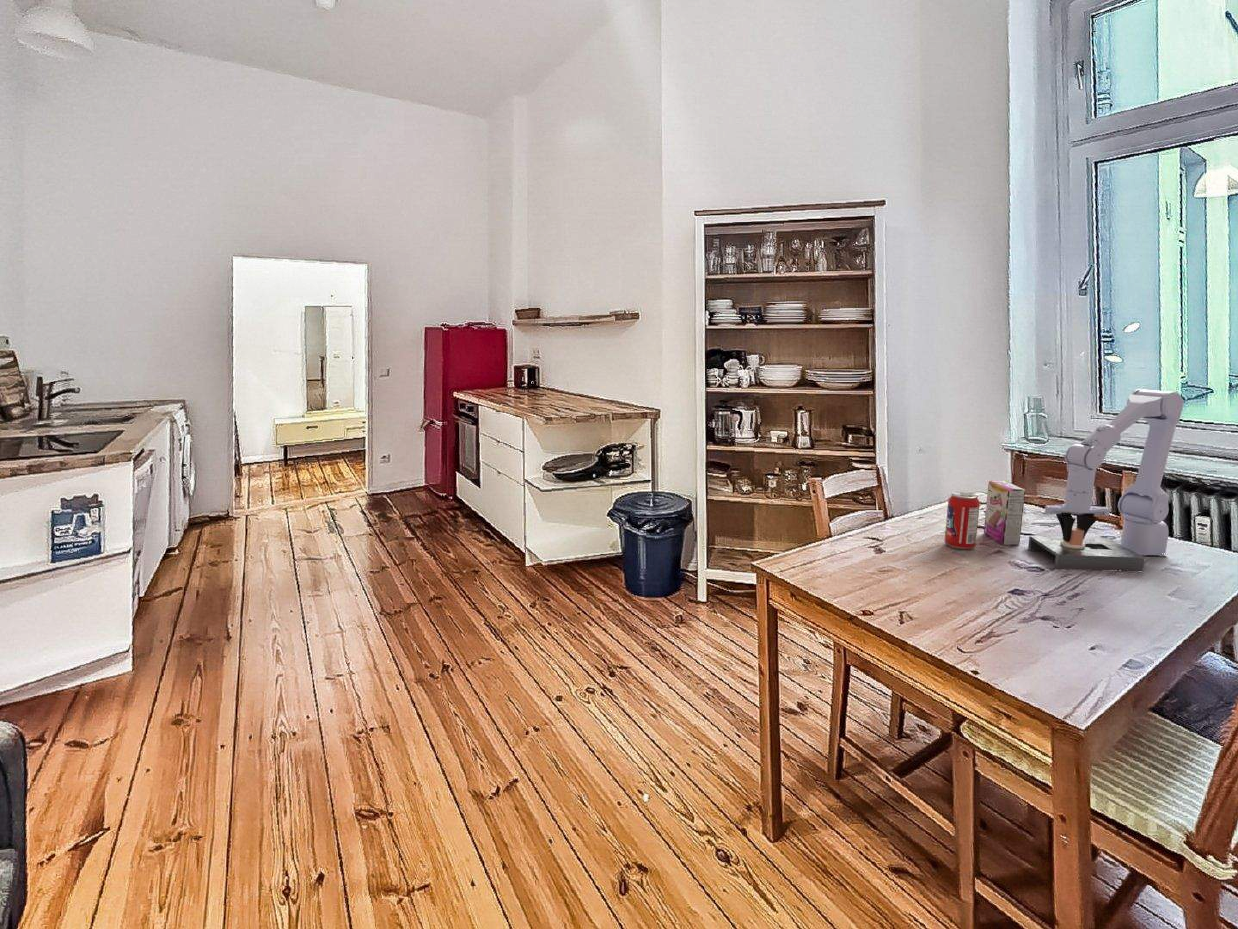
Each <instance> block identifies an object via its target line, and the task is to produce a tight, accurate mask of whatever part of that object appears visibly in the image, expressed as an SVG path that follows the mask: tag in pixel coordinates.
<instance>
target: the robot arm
mask: <svg viewBox="0 0 1238 929" xmlns="http://www.w3.org/2000/svg"><path fill="white" fill-rule="evenodd" d="M1184 405H1185V401H1184V399H1183V397H1182V396H1181V394H1180V393H1179V392H1178V391H1167V390H1166V391H1165V390H1164V391H1163V390H1153V389H1151V390H1150V389H1145V388H1138V389H1136V390H1134V391H1133V392H1132V393H1131V394H1130V395H1129V396H1128V397H1127V399H1126V406H1124V408H1122V410H1121V411H1120V412H1119V413H1118V414H1117V415H1116V416H1115V417H1114V418H1113V419H1112V420H1111V421H1110V423H1109V424H1103V425H1102V424H1101V425H1099V426H1097V427H1096V428H1095V430H1094V431H1092V433H1090V434H1089V435H1088V436H1087V437H1086V438H1084V440H1082V441H1081V442H1080V443H1076V444H1073V445H1071V446H1069V448H1067V450H1066V451H1065V452H1066V453H1065V454H1064V456H1063V457H1064V460H1065V463H1066V471H1067V472H1068V474H1067V482H1066V488H1065V489H1066V490H1065V496H1064V497H1065V498H1064V504H1054V505H1053V504H1052V505H1045V506H1044V513H1045V514H1047V515H1055V516H1056V518H1057V520H1058V522H1059V525H1060V529H1061V533H1062V537H1063V540H1065V541H1066V542H1069V541H1070V538H1071V532H1072V527H1073V526H1074V524H1075V522H1076V527H1078V528H1080V529H1082V530H1084V536H1083V540H1084V537H1086V535H1087V533H1088V532H1089V530H1090V528H1091V527H1092V526H1093V525H1094V524H1095V523H1096V522H1097V516H1105V517H1109V516H1110V508H1108V507H1106V506H1096V505H1092V500H1093V494H1094V486H1095V479H1096V472H1097V469H1098V468H1100V467H1101V466H1102V464H1103V462H1104V459H1105V457H1107V455H1108V452H1109V451H1110V450H1111V449H1112V448H1113V447H1115V445H1117V444H1118V443H1119V442H1120V441H1121V440H1122V437H1121V434H1122V433H1123V432H1125V431H1126V430H1127V429H1129V428H1130V427H1131V426H1132V425H1134V424H1135V423H1137V422H1138V421H1139V420H1141V419H1142V420H1144V421H1146V423H1147V425H1149V428H1148V432H1147V437H1146V440H1145V444H1144V448H1143V452H1142V456H1141V460H1140V464H1139V467H1138V471H1137V476H1136V480H1135V482H1134V483H1132V484H1130V485H1128V486H1126V487H1125V488H1124V490H1123V493H1122V495H1121V496H1120V498H1119V500H1118V503H1117V508H1118V512H1119V513H1120V514H1121V517H1122V518H1123V519H1124V520H1123V523H1122V525H1123V526H1122V532H1121V538H1120V539H1121V540H1120V543H1119V544H1120V545H1122V546H1124V547H1126V548H1128V549H1130V550H1132V551H1133V552H1135V553H1137V554H1139V555H1141V556H1146V555H1164V553H1165V555H1167V556H1168V554H1167V547H1168V540H1169V534H1170V533H1169V531H1170V530H1169V526H1168V525H1167V523H1166V522H1164V520H1165V519H1166V518H1167V516H1168V514H1169V510H1170V508H1169V499H1170V496H1169V494H1168V493H1167V492H1166V491H1164V489H1162V487H1161V486H1162V481H1163V476H1164V474H1165V470H1166V466H1167V461H1168V458H1169V454H1170V452H1171V451H1170V450H1171V447H1172V442H1173V439H1174V435H1175V431H1176V428H1177V424H1179V423H1180V419H1181V415H1182V412H1183V407H1184ZM1073 515H1076V518H1075V517H1073ZM1162 553H1163V554H1162Z"/></svg>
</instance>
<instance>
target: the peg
mask: <svg viewBox="0 0 1238 929" xmlns="http://www.w3.org/2000/svg"><path fill="white" fill-rule="evenodd" d="M1083 536H1084V530H1082V529H1080V528H1078V527H1077V525H1076V526H1074V525H1073V527H1072V532H1071V538H1070V541H1069V542H1066V541H1065V540H1061V542H1060V545H1061V546H1063V547H1067V548H1071V549H1084V548H1085V544H1084V543H1083Z"/></svg>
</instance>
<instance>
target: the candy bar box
mask: <svg viewBox="0 0 1238 929" xmlns="http://www.w3.org/2000/svg"><path fill="white" fill-rule="evenodd" d="M986 496H987V497H986V508H985V514H984V515H985V517H984V526H983V527H984V528H983V534H984V535H986V536H987V537H989V538H990V539H992V540H994V541H996V542H997V543H999V544H1001V545H1002V546H1020V541H1021V535H1022V534H1021V533H1022V532H1021V531H1022V523H1023V515H1024V508H1025V507H1024V506H1025V499H1026V498H1025V496H1026V489H1025V488H1023V487H1020V486H1018V485H1015V484H1013V483H1011V482H1008V481H1006V480H989V481H988V485H987V495H986Z"/></svg>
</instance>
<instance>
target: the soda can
mask: <svg viewBox="0 0 1238 929" xmlns="http://www.w3.org/2000/svg"><path fill="white" fill-rule="evenodd" d="M980 505H981V501H980V500H979V498H978V494H975V493H971V492H970V493H969V492H963V491H961V492H958V491H955V492H952V493H951V496H950V497H948V499H947V509H946V520H945V532H944V540H943V541H944V544H946V545H947V546H948V547H950V548H952V549H956V550H962V551H963V550H965V551H966V550H970V549H973V548H975V547H976V545H977V537H978V536H977V535H978V524H979V515H980Z"/></svg>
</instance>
